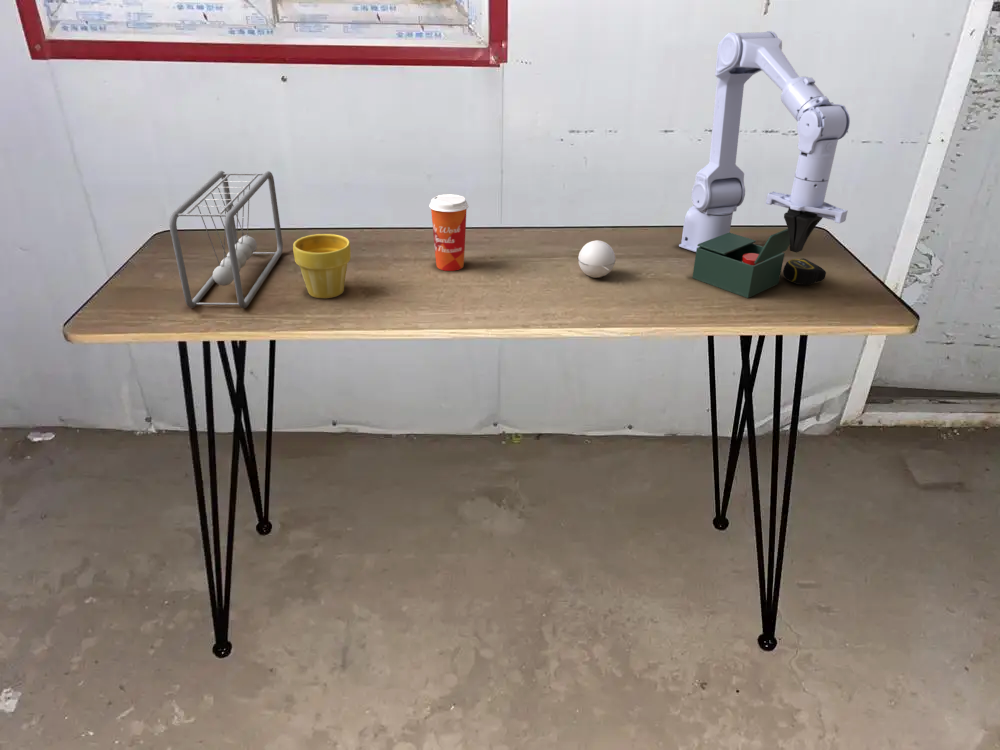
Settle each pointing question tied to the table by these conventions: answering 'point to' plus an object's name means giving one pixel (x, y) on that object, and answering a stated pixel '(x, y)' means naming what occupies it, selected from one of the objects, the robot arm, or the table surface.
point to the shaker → (750, 258)
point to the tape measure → (803, 272)
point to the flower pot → (323, 263)
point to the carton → (735, 265)
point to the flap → (774, 245)
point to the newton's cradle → (228, 238)
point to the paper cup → (449, 230)
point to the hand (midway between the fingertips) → (796, 250)
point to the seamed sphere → (596, 259)
